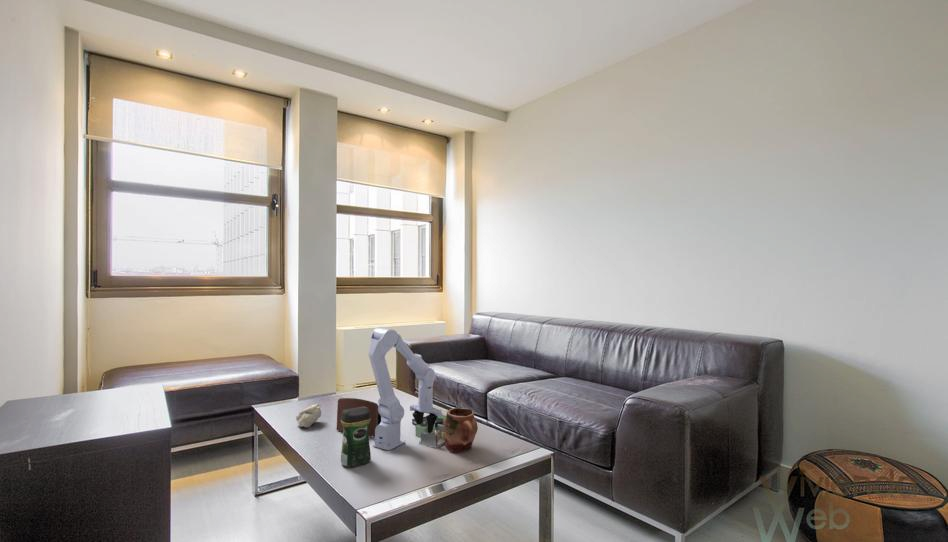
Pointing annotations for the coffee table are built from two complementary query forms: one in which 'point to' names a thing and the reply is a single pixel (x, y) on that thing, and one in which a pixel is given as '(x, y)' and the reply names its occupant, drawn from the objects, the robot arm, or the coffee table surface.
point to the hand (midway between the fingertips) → (425, 430)
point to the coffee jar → (355, 437)
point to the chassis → (433, 437)
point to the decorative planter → (459, 429)
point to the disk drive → (438, 421)
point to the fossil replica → (309, 416)
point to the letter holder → (354, 403)
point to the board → (423, 429)
